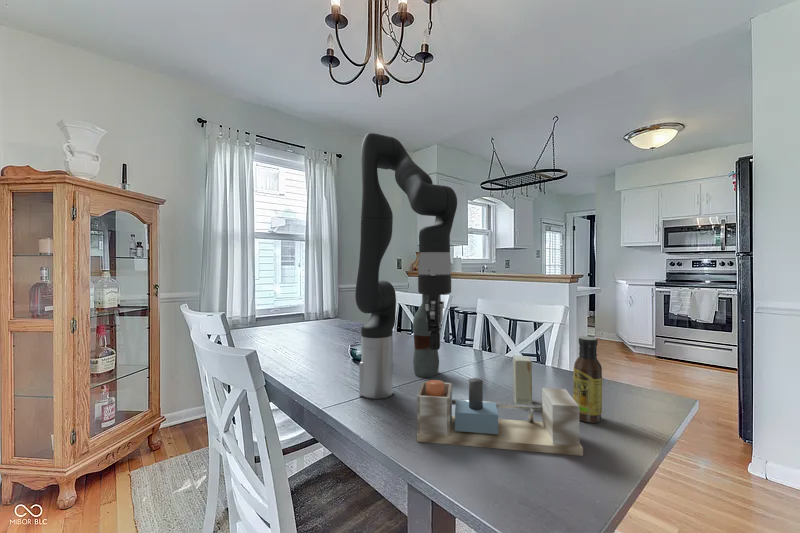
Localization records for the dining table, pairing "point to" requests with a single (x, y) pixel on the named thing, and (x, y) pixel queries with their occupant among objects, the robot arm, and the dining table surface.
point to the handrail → (515, 407)
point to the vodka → (423, 345)
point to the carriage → (476, 411)
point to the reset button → (435, 388)
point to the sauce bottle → (588, 381)
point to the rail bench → (504, 425)
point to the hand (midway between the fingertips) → (435, 348)
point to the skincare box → (522, 379)
